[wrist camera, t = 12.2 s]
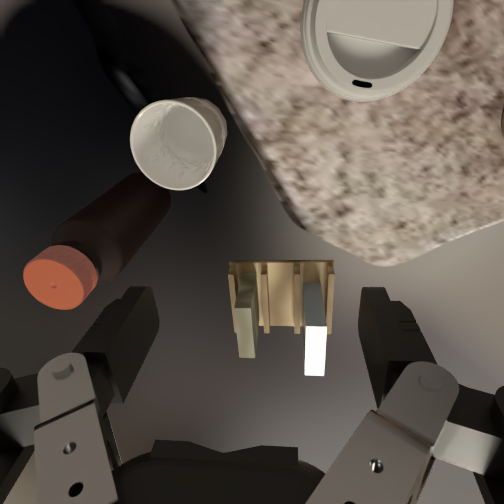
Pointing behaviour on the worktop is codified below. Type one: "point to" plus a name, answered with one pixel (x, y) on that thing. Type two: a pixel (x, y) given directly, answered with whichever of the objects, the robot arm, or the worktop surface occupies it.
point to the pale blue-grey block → (314, 329)
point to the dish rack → (274, 296)
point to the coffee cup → (372, 43)
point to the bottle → (97, 242)
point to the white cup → (178, 141)
